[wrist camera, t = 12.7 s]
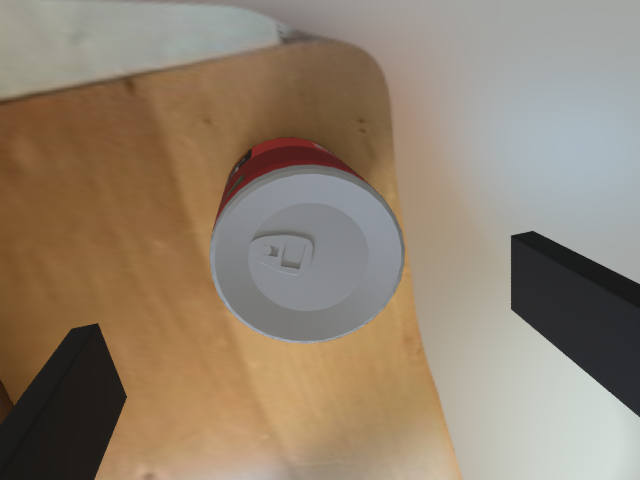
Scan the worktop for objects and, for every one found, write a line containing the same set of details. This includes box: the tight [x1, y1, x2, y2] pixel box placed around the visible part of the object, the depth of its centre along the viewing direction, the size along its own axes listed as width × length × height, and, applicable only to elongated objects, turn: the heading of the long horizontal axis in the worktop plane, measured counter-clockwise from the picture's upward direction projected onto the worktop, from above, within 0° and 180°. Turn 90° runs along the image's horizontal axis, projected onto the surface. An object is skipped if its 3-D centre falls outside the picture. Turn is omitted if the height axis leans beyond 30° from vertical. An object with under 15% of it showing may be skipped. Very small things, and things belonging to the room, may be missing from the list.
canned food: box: [210, 138, 405, 344], centre depth 22 cm, size 8×8×11 cm
